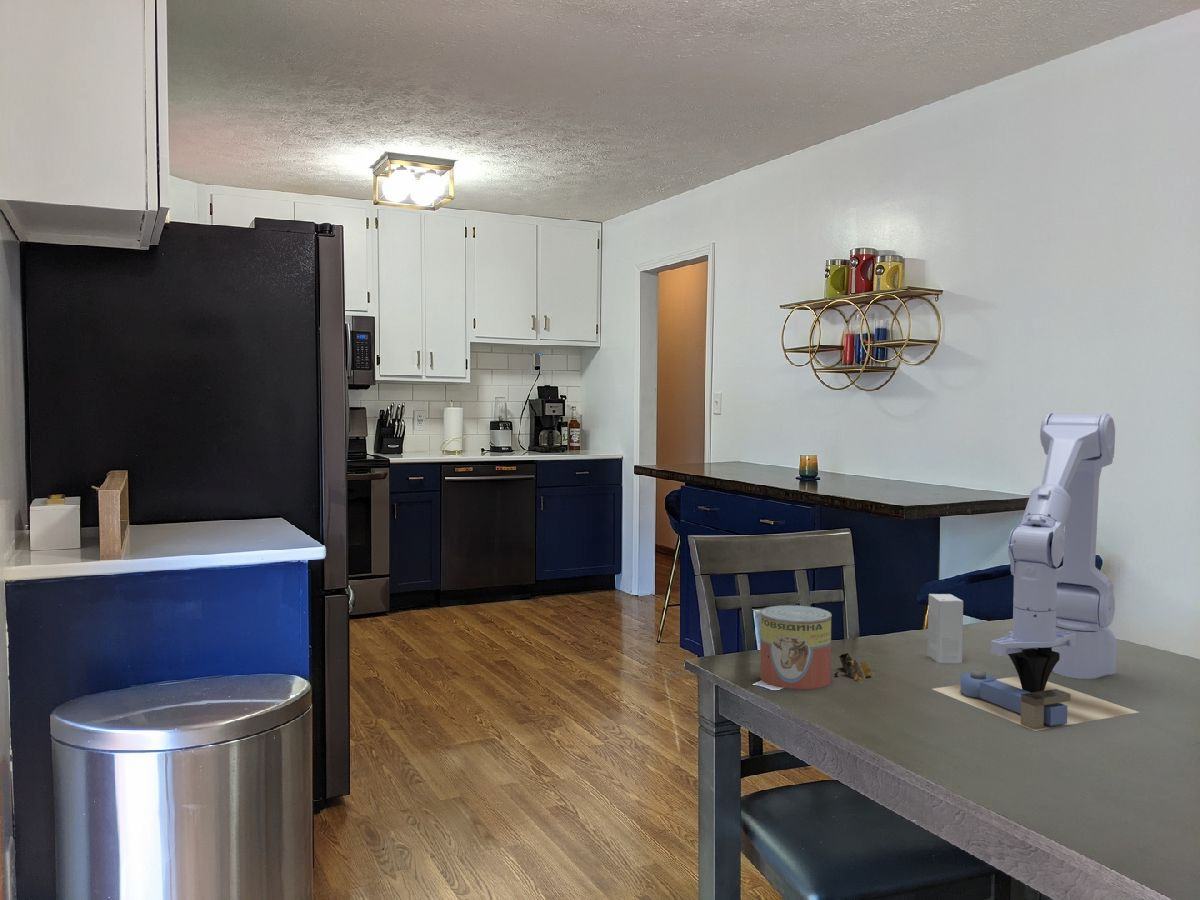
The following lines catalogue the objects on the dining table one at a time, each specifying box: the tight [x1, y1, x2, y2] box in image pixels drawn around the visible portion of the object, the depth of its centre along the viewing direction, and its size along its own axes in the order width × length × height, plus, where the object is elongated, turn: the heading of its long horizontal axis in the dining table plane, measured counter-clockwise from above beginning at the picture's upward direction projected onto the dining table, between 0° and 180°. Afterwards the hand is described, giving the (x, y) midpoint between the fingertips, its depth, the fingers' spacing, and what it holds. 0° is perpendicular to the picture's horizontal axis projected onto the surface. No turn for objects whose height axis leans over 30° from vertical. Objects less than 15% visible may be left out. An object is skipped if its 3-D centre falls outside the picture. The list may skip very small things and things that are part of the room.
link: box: [959, 669, 1067, 726], centre depth 136 cm, size 18×5×3 cm, turn 21°
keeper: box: [1020, 689, 1071, 731], centre depth 129 cm, size 6×2×5 cm, turn 112°
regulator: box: [833, 652, 872, 684], centre depth 150 cm, size 8×4×15 cm
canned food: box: [759, 604, 833, 690], centre depth 150 cm, size 11×11×12 cm
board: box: [931, 675, 1140, 732], centre depth 139 cm, size 20×20×1 cm
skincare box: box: [926, 593, 964, 664], centre depth 162 cm, size 6×4×12 cm
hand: (1032, 698), depth 137 cm, fingers closed
